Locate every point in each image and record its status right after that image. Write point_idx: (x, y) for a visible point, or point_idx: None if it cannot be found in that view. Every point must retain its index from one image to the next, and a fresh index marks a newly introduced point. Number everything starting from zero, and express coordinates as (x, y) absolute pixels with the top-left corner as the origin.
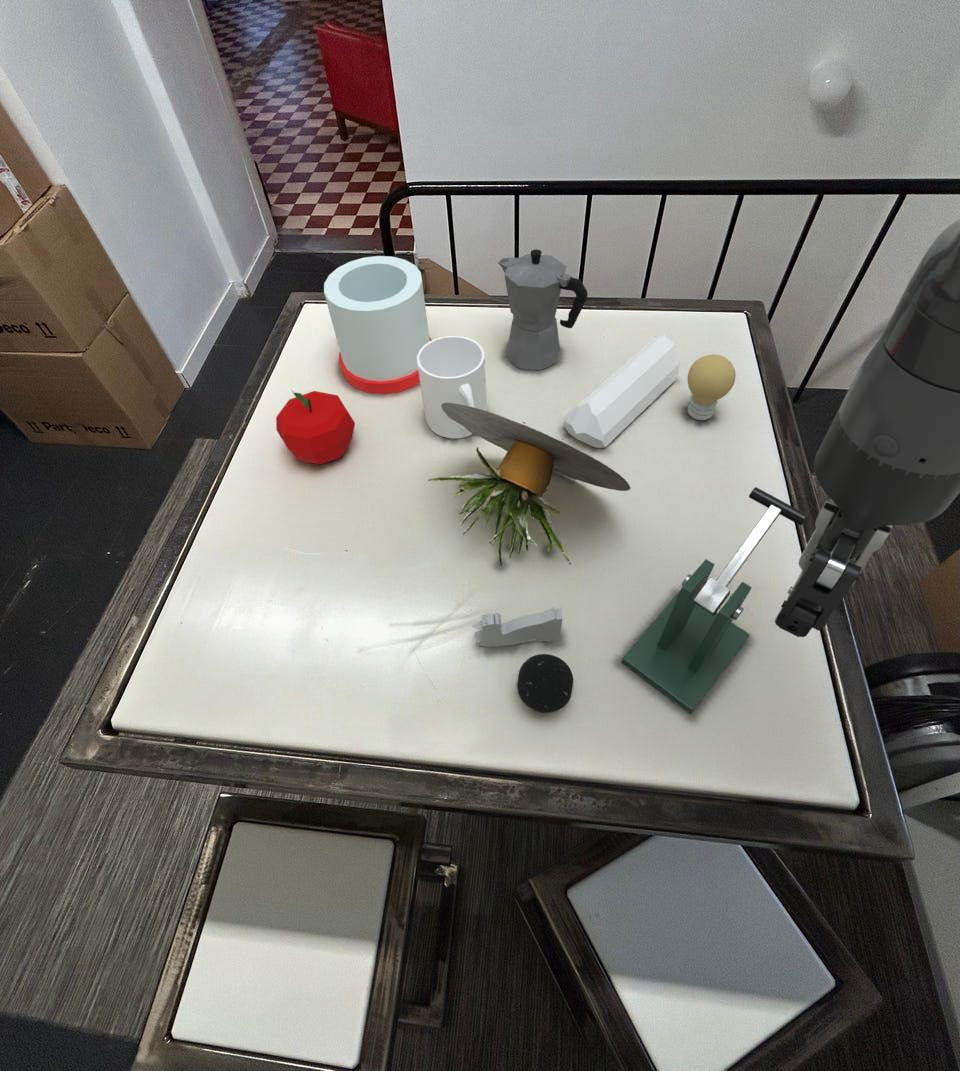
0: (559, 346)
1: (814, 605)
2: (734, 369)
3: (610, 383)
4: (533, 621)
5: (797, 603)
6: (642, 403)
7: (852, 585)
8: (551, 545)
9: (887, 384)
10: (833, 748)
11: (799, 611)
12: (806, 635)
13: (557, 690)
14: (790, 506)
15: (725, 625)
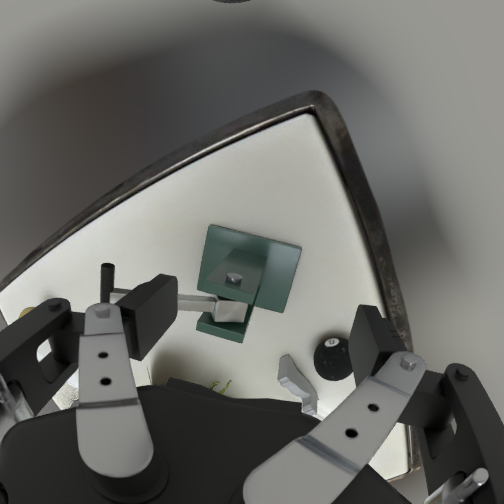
0: (73, 402)
1: (440, 407)
2: (20, 314)
3: (77, 388)
4: (295, 388)
5: (441, 428)
6: None
7: (410, 396)
8: (214, 384)
9: None
10: (273, 137)
11: (453, 418)
12: (376, 307)
13: (346, 357)
14: (101, 286)
15: (247, 278)
